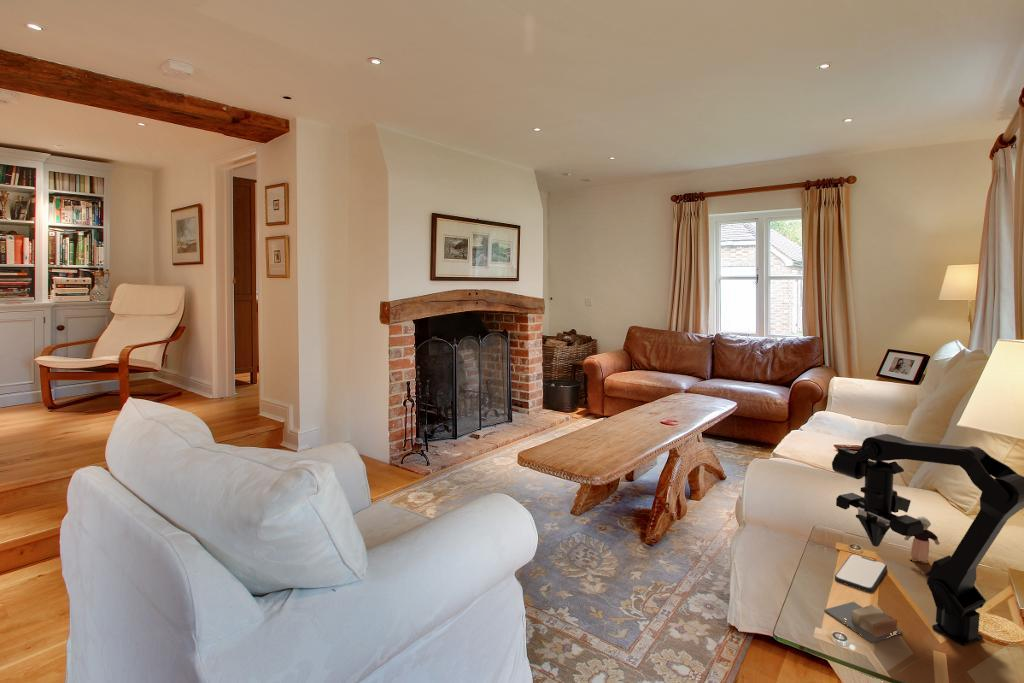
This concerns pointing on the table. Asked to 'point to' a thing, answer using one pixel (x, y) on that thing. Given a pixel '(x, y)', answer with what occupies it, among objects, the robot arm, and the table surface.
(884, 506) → the robot arm
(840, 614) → the felt mat
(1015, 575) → the table surface
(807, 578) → the table surface
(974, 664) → the table surface
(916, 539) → the grandmother figurine
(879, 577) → the phone case
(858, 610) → the birch block
